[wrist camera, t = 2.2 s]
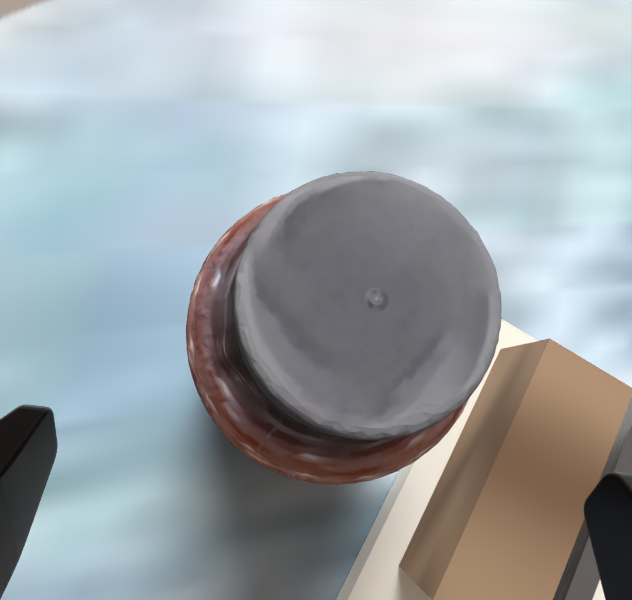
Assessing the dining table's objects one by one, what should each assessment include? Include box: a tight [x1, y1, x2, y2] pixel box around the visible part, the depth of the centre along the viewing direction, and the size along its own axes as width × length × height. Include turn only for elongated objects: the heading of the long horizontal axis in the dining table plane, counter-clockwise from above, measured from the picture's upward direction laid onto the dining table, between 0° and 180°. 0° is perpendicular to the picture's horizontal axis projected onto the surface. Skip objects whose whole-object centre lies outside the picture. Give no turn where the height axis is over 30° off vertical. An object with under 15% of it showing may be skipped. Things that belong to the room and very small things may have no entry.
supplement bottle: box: [186, 171, 501, 484], centre depth 13 cm, size 6×6×11 cm
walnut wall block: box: [399, 339, 632, 600], centre depth 16 cm, size 8×3×3 cm, turn 150°
